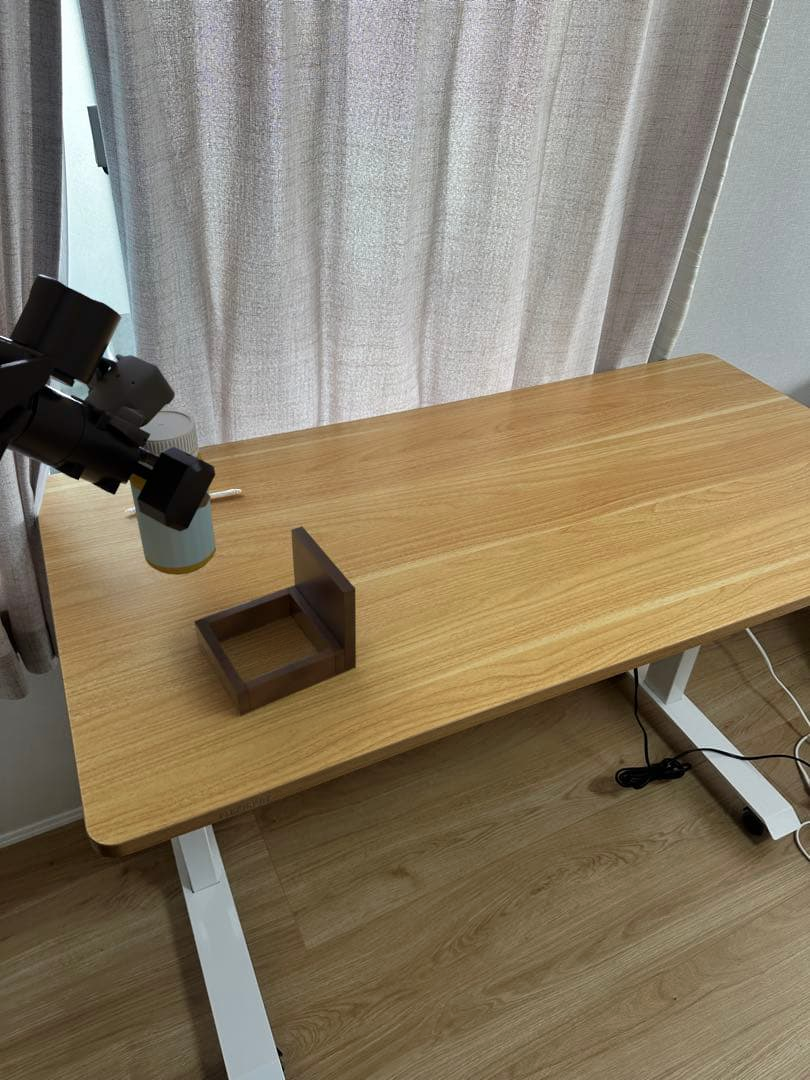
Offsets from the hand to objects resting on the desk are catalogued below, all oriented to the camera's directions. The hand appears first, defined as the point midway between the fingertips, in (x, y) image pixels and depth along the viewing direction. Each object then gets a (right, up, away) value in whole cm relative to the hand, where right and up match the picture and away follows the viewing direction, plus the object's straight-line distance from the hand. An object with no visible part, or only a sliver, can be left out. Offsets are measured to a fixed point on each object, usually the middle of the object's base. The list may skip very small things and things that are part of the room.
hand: (181, 487), depth 78 cm
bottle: (-1, -7, +4) cm, 8 cm away
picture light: (-5, 0, +20) cm, 21 cm away
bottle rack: (+9, -16, -1) cm, 19 cm away
